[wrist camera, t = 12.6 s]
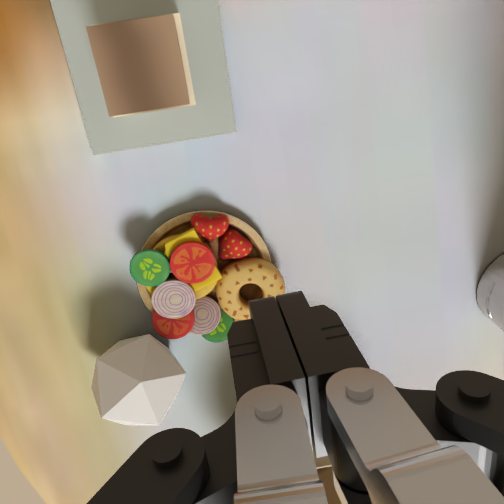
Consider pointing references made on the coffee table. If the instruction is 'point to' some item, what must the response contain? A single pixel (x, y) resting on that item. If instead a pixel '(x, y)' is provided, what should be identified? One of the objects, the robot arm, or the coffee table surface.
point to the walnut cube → (139, 64)
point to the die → (136, 381)
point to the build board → (157, 122)
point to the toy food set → (203, 274)
